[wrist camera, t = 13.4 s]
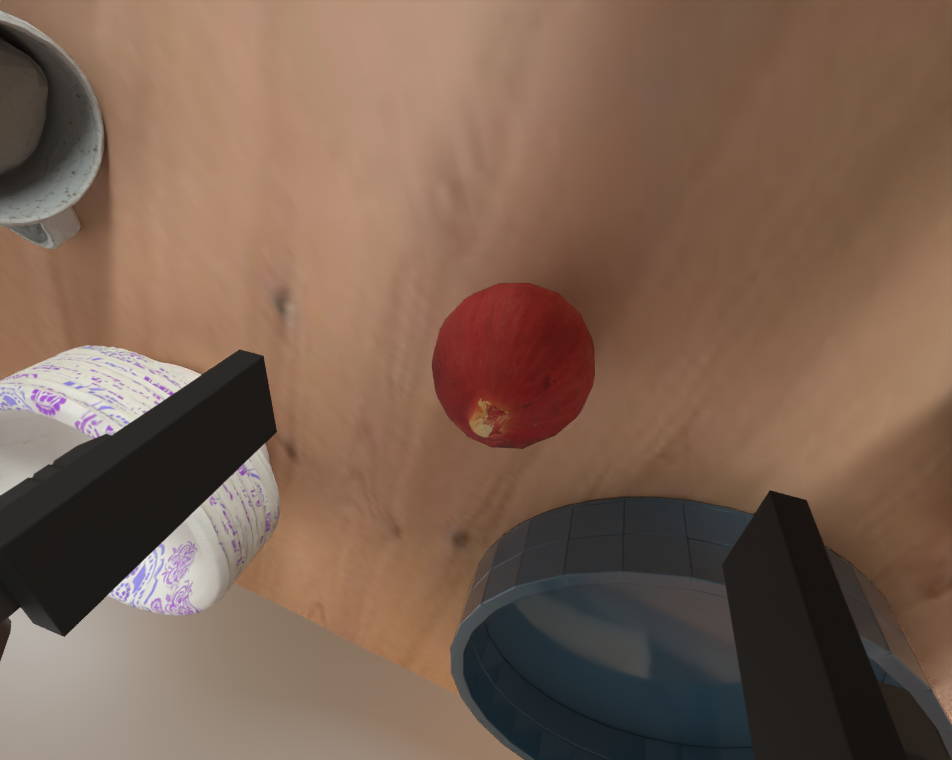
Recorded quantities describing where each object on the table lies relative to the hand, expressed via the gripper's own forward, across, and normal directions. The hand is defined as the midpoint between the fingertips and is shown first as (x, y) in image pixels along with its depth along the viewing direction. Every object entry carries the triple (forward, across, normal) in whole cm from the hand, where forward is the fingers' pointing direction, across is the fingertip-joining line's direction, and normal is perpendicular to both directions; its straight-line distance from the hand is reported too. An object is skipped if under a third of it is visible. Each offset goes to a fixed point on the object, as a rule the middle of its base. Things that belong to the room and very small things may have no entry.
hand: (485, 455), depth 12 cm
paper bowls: (+9, -20, -13) cm, 25 cm away
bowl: (+9, +11, -19) cm, 24 cm away
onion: (+9, 0, 0) cm, 9 cm away
